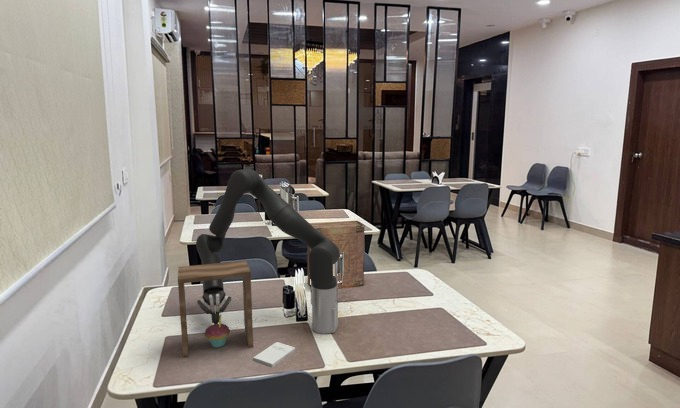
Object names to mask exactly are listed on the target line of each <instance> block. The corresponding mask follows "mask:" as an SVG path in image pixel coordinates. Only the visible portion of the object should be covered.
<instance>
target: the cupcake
mask: <svg viewBox="0 0 680 408" xmlns="http://www.w3.org/2000/svg"><path fill="white" fill-rule="evenodd" d="M219 315H220V316H219V322H218V324H214V323H212V324H211V325H210V326H207V328H206V329H205V332H204V337H205V338H206V339H207V340H209V343H210V346H212V347H213V348H220V347H223V346H225V345H226V342H227V339H228V336H230V333H231V329H230V328H229V326H228V325H227V324H224V323H222V313H220V314H219Z"/></svg>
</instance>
